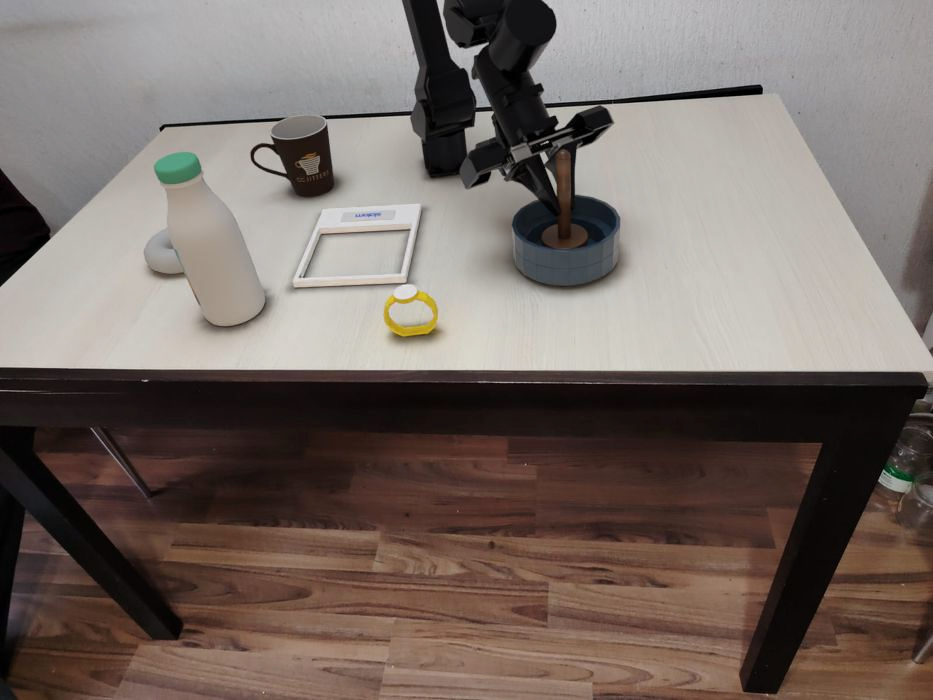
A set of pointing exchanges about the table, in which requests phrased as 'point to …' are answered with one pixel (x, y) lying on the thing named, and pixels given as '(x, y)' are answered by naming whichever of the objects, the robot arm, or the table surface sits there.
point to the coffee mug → (302, 153)
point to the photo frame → (359, 222)
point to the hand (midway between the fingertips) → (565, 212)
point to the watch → (405, 296)
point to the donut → (162, 254)
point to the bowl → (566, 262)
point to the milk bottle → (208, 243)
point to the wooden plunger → (564, 211)
